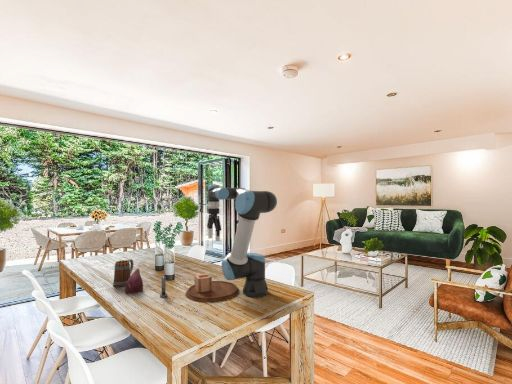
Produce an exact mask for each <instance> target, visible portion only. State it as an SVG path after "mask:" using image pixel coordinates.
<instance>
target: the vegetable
mask: <svg viewBox="0 0 512 384" xmlns="http://www.w3.org/2000/svg"><path fill="white" fill-rule="evenodd" d="M143 291H144V282H143V278H142V276H141V272H140V268H139V267H137V268H136V269H135V270H134V272H133V273H131V274H130V278H129V279H128V281H127V284H126V286H124V292H125V294H127V295H128V294H130V295H132V294H133V295H134V294H138V293H141V292H143Z"/></svg>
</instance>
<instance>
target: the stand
mask: <svg viewBox="0 0 512 384" xmlns="http://www.w3.org/2000/svg"><path fill="white" fill-rule="evenodd" d="M166 278H167V277H166V276H161V294H160V295H159V298H166V297H168V293H166V289H167V288H166V287H167V286H166V283H167V282H166Z"/></svg>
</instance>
